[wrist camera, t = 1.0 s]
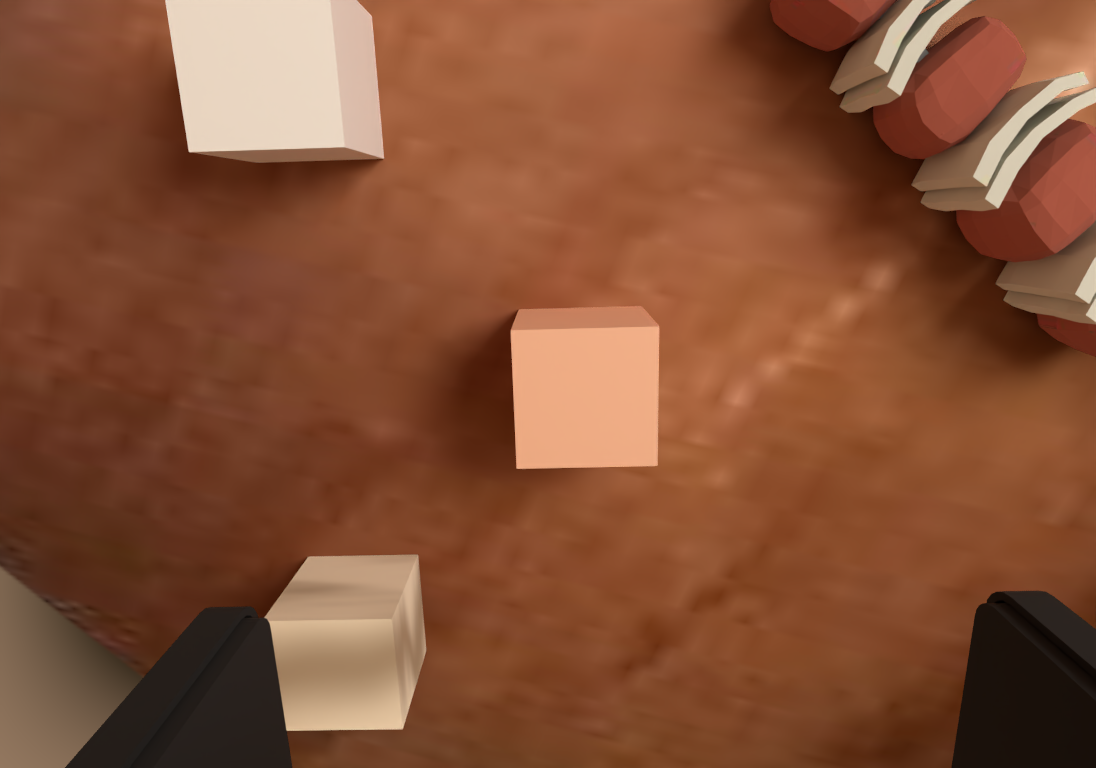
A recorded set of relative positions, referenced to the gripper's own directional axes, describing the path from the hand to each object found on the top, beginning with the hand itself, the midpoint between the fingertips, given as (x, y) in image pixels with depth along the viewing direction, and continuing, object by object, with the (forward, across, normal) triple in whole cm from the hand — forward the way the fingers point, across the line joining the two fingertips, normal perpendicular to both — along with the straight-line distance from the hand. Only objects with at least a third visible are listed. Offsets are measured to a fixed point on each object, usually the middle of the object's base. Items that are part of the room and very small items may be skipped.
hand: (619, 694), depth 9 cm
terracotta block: (+20, 0, 0) cm, 20 cm away
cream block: (+20, +10, -11) cm, 25 cm away
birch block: (+20, +10, +11) cm, 25 cm away
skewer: (+20, -15, -8) cm, 26 cm away
